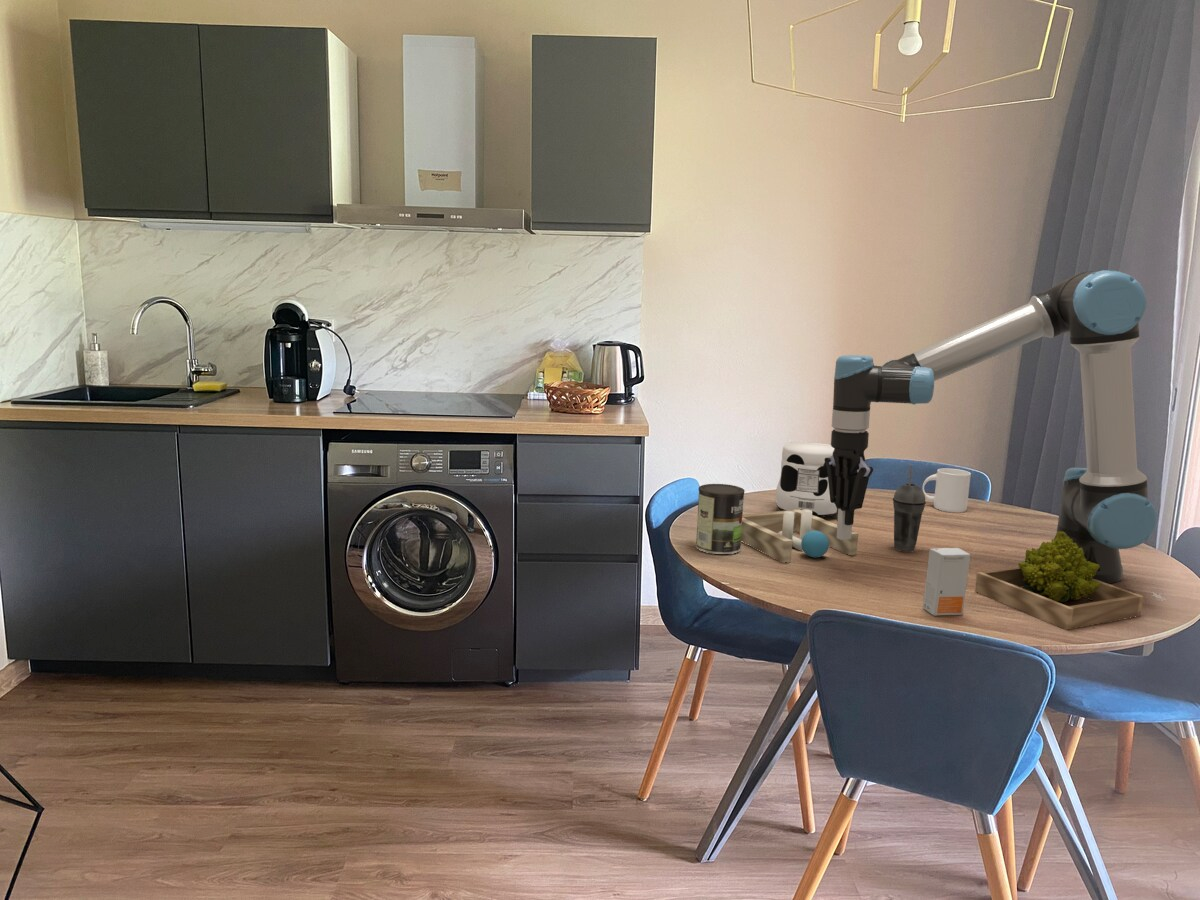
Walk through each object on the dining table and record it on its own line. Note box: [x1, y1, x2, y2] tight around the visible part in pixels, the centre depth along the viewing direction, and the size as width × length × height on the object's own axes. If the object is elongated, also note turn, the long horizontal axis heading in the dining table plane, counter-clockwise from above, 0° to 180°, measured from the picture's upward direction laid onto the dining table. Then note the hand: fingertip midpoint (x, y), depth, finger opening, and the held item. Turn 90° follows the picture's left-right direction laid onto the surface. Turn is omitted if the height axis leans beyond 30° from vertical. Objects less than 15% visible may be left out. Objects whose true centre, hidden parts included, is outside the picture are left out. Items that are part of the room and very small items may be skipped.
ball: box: [801, 531, 830, 559], centre depth 195 cm, size 6×6×6 cm
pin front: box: [778, 531, 803, 552], centre depth 203 cm, size 2×2×8 cm
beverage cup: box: [892, 465, 927, 553], centre depth 202 cm, size 7×7×20 cm
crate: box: [974, 566, 1144, 630], centre depth 171 cm, size 21×20×4 cm
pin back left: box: [782, 511, 794, 540], centre depth 201 cm, size 2×2×8 cm
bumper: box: [741, 509, 859, 564], centre depth 203 cm, size 22×20×5 cm
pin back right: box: [799, 509, 812, 540], centre depth 203 cm, size 2×2×8 cm
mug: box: [922, 467, 972, 513], centre depth 243 cm, size 9×12×11 cm
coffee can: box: [695, 483, 746, 555], centre depth 198 cm, size 10×10×14 cm
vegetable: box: [1017, 531, 1101, 603], centre depth 172 cm, size 15×16×15 cm
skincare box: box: [922, 547, 971, 617], centre depth 163 cm, size 6×4×12 cm
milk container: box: [775, 441, 837, 518], centre depth 232 cm, size 17×17×18 cm
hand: (843, 538), depth 187 cm, fingers closed
